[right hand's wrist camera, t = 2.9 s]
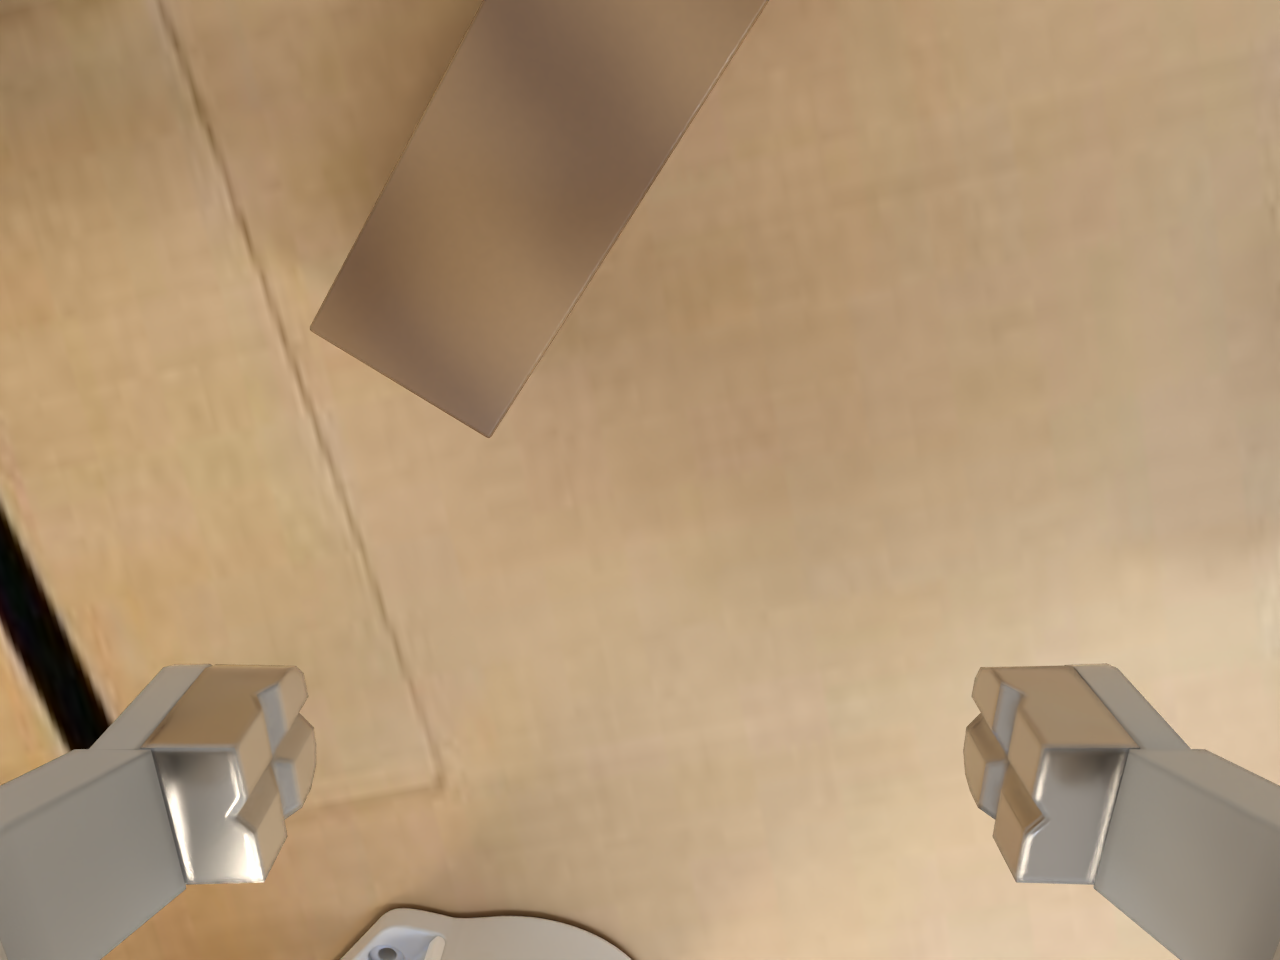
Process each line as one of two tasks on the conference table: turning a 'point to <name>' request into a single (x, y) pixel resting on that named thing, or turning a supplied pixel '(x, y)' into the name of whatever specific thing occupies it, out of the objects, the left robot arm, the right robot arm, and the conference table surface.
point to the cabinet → (521, 188)
